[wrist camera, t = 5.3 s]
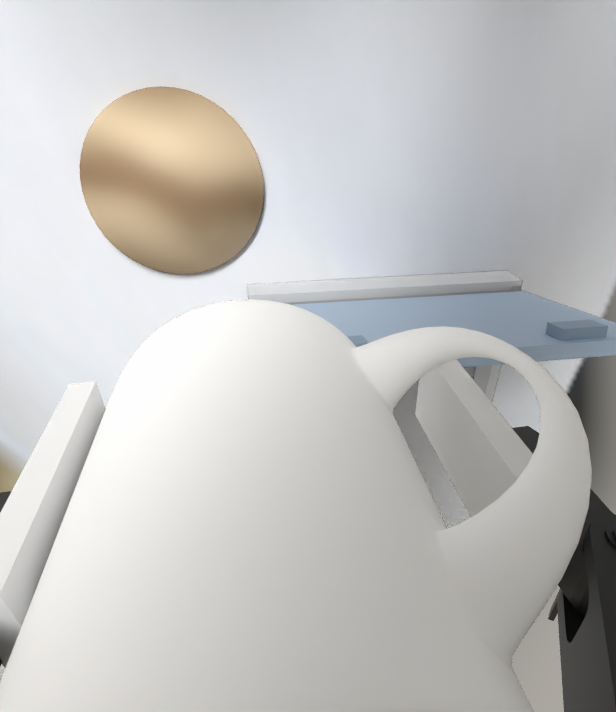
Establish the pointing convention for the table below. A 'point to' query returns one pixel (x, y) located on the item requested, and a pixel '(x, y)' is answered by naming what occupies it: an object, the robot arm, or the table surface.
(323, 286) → the bracket
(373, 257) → the table surface
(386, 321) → the cover
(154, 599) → the mug
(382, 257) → the table surface
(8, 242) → the table surface
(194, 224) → the coaster
